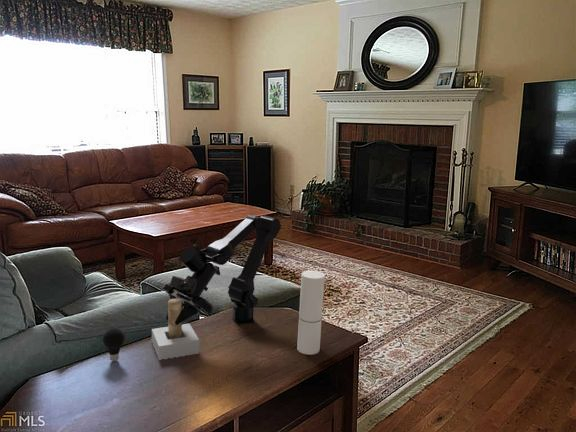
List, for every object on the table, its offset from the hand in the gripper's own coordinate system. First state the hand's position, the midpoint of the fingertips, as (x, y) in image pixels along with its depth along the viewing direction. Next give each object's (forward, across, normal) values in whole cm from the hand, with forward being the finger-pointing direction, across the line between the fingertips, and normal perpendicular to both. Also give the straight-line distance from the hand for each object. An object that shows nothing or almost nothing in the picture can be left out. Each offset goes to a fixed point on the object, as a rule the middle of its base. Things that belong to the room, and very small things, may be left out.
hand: (171, 322), depth 145 cm
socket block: (+6, 0, +7) cm, 9 cm away
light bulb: (+18, -6, -5) cm, 19 cm away
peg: (+4, 0, +6) cm, 7 cm away
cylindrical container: (-15, +30, +28) cm, 44 cm away
